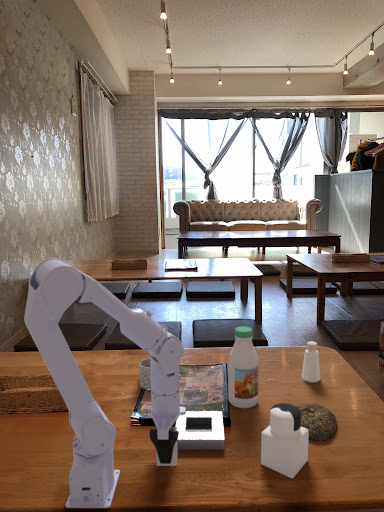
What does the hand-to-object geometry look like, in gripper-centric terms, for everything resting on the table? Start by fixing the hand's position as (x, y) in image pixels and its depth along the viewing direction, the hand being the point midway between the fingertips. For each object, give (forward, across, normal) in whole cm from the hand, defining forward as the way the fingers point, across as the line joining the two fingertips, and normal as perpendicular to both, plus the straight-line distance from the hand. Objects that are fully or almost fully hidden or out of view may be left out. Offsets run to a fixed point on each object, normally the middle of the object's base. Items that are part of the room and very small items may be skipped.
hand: (167, 450), depth 85 cm
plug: (+2, 0, 0) cm, 2 cm away
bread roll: (+3, +13, -33) cm, 35 cm away
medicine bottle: (+2, -1, -24) cm, 24 cm away
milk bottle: (+2, +23, -18) cm, 29 cm away
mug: (+2, +34, +8) cm, 35 cm away
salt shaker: (+2, +36, -39) cm, 53 cm away
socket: (+2, +8, -6) cm, 11 cm away
